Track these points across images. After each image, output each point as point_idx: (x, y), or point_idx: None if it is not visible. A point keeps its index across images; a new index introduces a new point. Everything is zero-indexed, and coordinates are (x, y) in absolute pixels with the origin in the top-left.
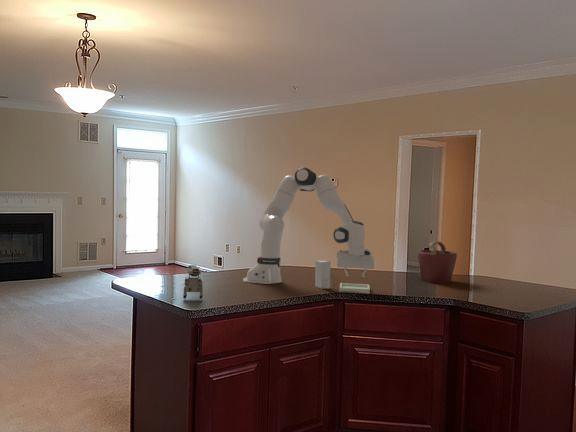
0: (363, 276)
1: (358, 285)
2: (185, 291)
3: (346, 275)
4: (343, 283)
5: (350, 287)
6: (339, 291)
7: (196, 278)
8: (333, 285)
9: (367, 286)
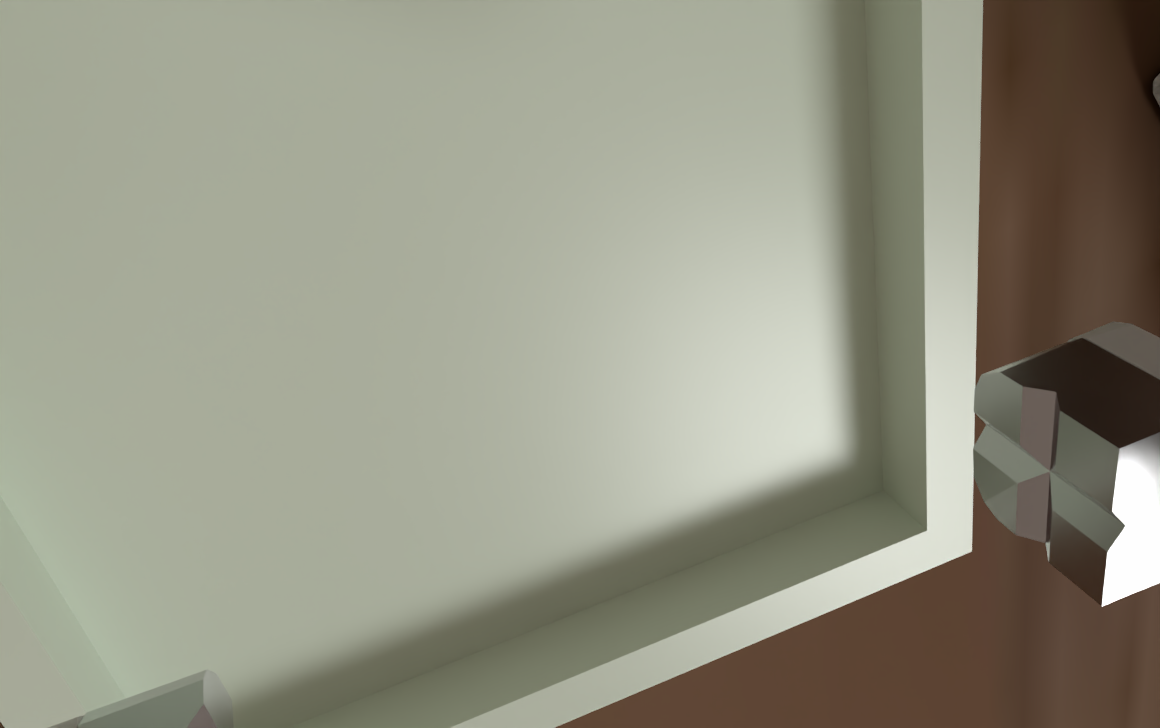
0: (86, 714)
1: (451, 693)
2: None
3: (1082, 339)
4: (888, 545)
5: (631, 409)
6: None
7: None
8: (1044, 552)
9: (46, 636)
